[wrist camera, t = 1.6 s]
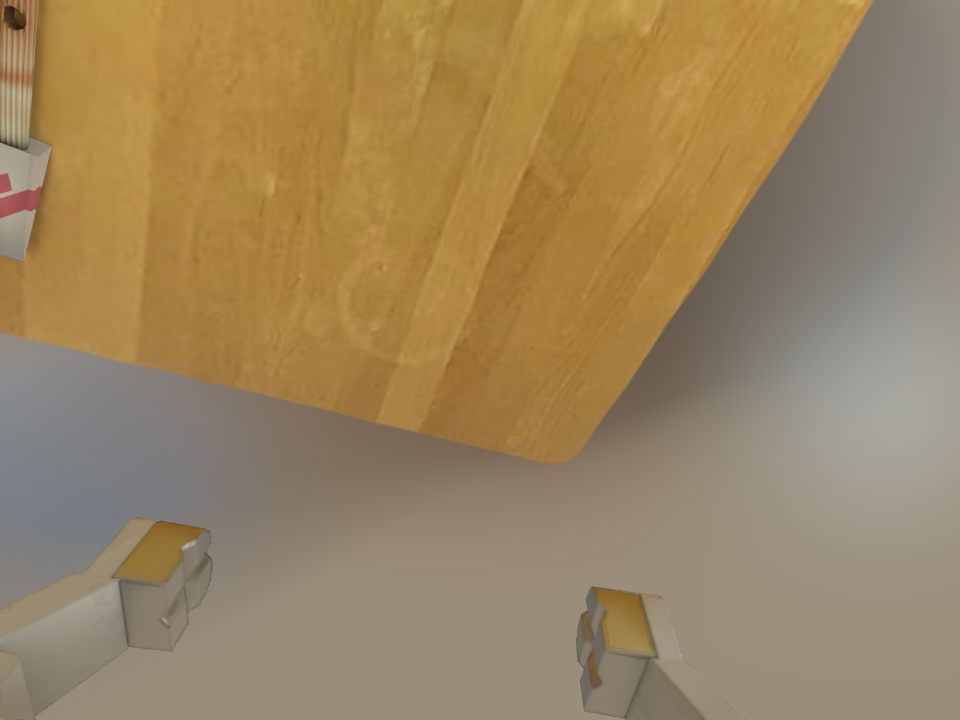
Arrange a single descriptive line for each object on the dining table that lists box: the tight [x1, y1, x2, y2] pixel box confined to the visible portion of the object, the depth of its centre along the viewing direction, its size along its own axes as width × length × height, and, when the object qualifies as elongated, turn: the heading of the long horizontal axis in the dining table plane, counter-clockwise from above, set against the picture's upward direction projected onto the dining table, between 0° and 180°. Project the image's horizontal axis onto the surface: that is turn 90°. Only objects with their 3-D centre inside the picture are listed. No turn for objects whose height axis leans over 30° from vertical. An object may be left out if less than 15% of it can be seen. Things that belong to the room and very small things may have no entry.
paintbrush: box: [0, 0, 52, 262], centre depth 42 cm, size 4×3×20 cm
